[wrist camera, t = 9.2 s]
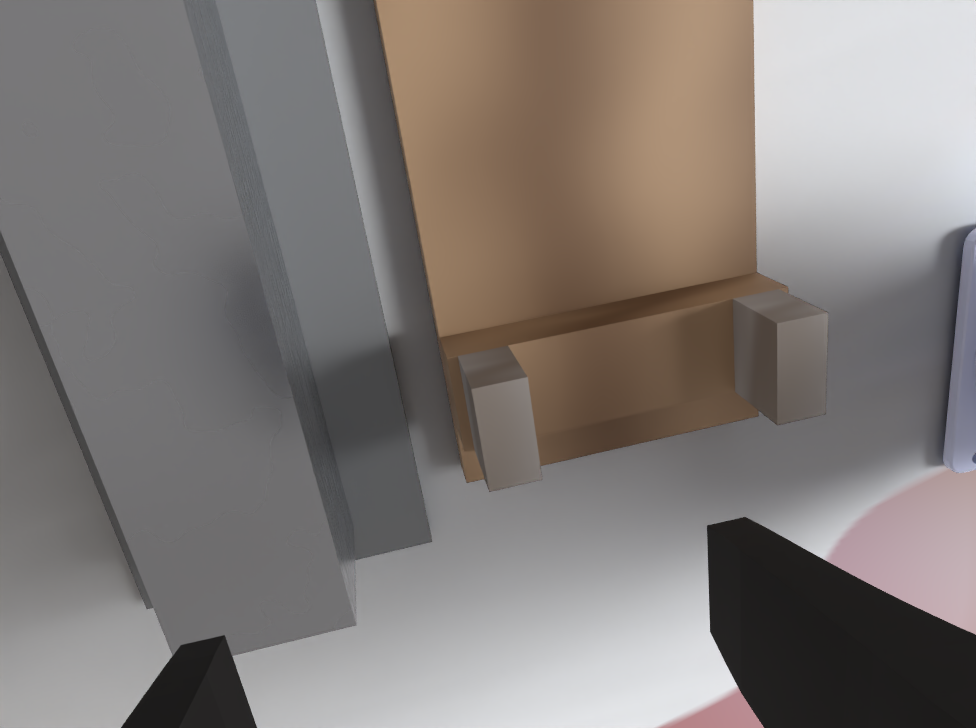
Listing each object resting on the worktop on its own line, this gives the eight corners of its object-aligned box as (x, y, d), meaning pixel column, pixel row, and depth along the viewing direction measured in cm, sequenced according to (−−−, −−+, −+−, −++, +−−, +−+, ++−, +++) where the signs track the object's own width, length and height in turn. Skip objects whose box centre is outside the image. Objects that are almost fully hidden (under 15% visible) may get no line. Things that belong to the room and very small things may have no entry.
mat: (177, -638, 13) (172, -660, 12) (430, 533, 22) (432, 541, 21) (-341, -611, 12) (-364, -634, 11) (150, 599, 21) (146, 609, 20)
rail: (65, -571, 12) (-53, -849, 9) (354, 528, 21) (356, 625, 17) (-194, -555, 12) (-436, -843, 8) (208, 561, 20) (178, 668, 16)
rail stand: (720, -519, 14) (873, -762, 10) (740, 402, 22) (833, 476, 18) (281, -485, 13) (253, -738, 9) (461, 465, 21) (490, 559, 17)
